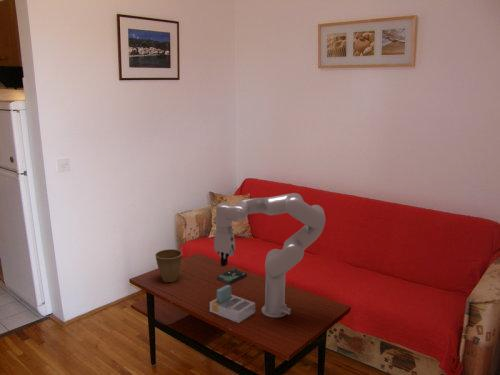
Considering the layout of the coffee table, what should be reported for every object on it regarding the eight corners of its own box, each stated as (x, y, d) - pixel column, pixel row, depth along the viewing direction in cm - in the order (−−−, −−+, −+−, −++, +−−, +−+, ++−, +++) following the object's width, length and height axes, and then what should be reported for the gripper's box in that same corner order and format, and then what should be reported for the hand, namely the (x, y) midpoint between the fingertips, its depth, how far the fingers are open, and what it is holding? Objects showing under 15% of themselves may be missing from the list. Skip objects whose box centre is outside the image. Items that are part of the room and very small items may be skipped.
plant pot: (174, 272, 257) (174, 247, 254) (187, 281, 246) (187, 254, 242) (151, 279, 248) (150, 252, 244) (163, 288, 236) (163, 260, 233)
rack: (255, 312, 211) (255, 302, 210) (238, 323, 200) (238, 312, 199) (226, 301, 221) (226, 292, 220) (209, 311, 211) (209, 301, 210)
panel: (231, 304, 216) (231, 286, 214) (220, 310, 210) (220, 291, 208) (227, 303, 218) (227, 284, 216) (216, 309, 212) (216, 290, 210)
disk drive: (233, 273, 260) (216, 280, 248) (233, 268, 259) (216, 275, 248) (247, 277, 253) (230, 285, 242) (247, 273, 253) (230, 280, 241)
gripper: (241, 230, 204) (241, 266, 208) (217, 224, 213) (217, 259, 217) (231, 234, 199) (231, 271, 202) (207, 228, 207) (207, 264, 211)
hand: (224, 265), depth 210 cm, fingers closed
